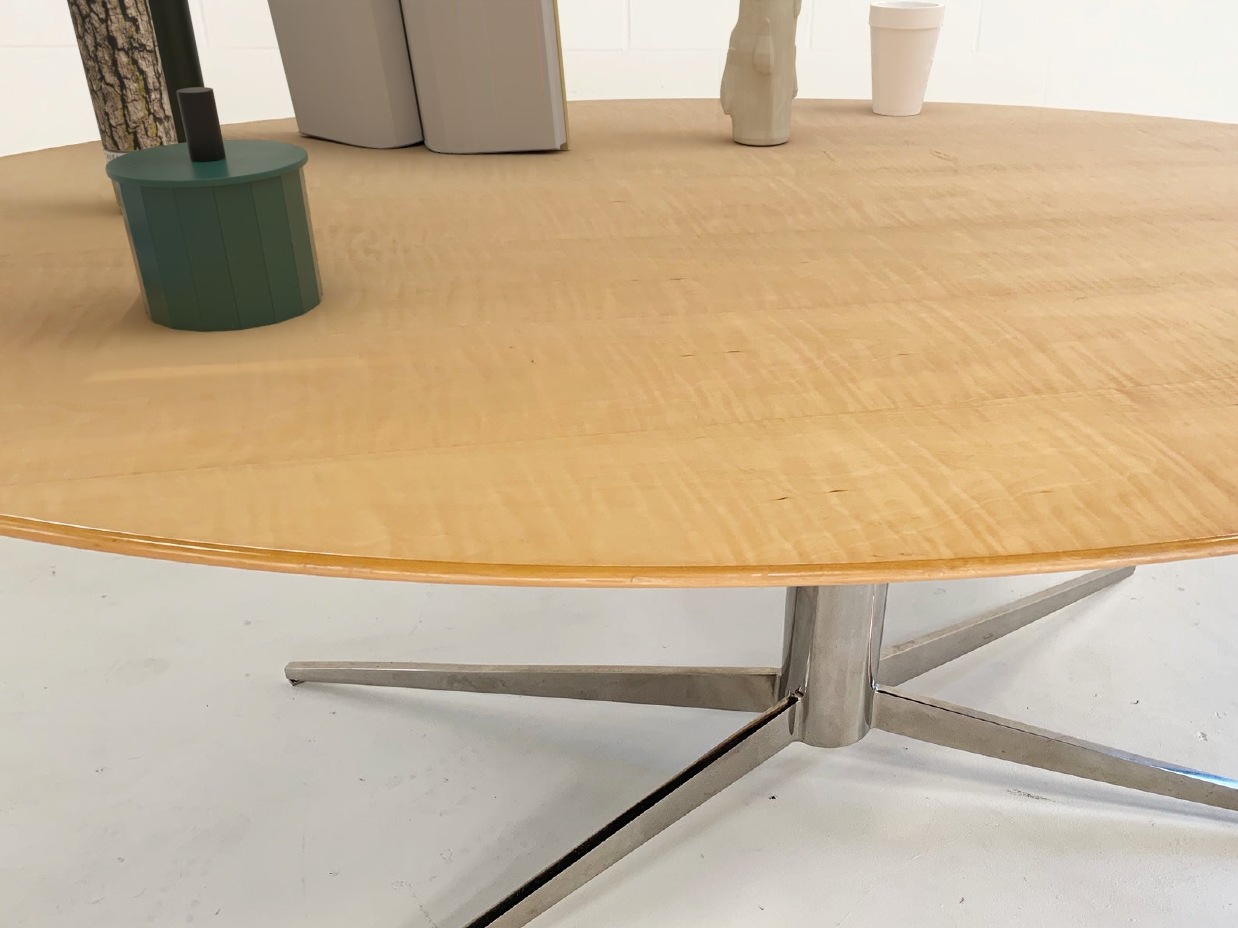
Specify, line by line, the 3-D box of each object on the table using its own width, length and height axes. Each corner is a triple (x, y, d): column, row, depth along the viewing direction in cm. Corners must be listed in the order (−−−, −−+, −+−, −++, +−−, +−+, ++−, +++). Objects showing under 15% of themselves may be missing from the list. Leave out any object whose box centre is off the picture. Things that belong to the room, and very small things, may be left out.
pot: (132, 343, 81) (93, 190, 76) (168, 289, 92) (136, 150, 86) (314, 333, 83) (289, 182, 77) (329, 280, 93) (308, 144, 88)
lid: (86, 201, 75) (63, 110, 72) (133, 158, 87) (115, 77, 84) (299, 193, 77) (284, 103, 74) (318, 151, 88) (306, 72, 85)
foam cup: (944, 110, 156) (957, 3, 149) (909, 120, 150) (921, 9, 143) (883, 103, 161) (894, -1, 154) (847, 112, 155) (856, 5, 149)
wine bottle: (205, 151, 137) (146, -149, 121) (158, 151, 137) (92, -148, 121) (222, 142, 141) (167, -148, 125) (176, 141, 142) (115, -147, 126)
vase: (774, 151, 135) (790, -154, 119) (709, 144, 138) (716, -153, 122) (803, 138, 141) (822, -153, 125) (740, 131, 144) (751, -152, 129)
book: (575, 145, 137) (553, -90, 121) (550, 168, 131) (523, -75, 116) (312, 128, 147) (261, -89, 132) (279, 149, 142) (221, -76, 126)
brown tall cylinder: (199, 208, 113) (138, -85, 100) (128, 219, 110) (54, -83, 97) (180, 195, 118) (119, -87, 105) (111, 205, 115) (39, -85, 102)
